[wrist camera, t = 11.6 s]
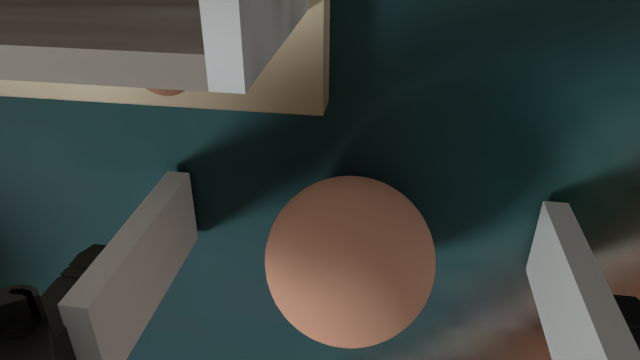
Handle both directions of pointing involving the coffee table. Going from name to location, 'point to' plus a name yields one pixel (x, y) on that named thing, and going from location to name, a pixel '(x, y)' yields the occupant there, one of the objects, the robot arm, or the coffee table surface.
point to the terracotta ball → (350, 261)
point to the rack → (169, 53)
